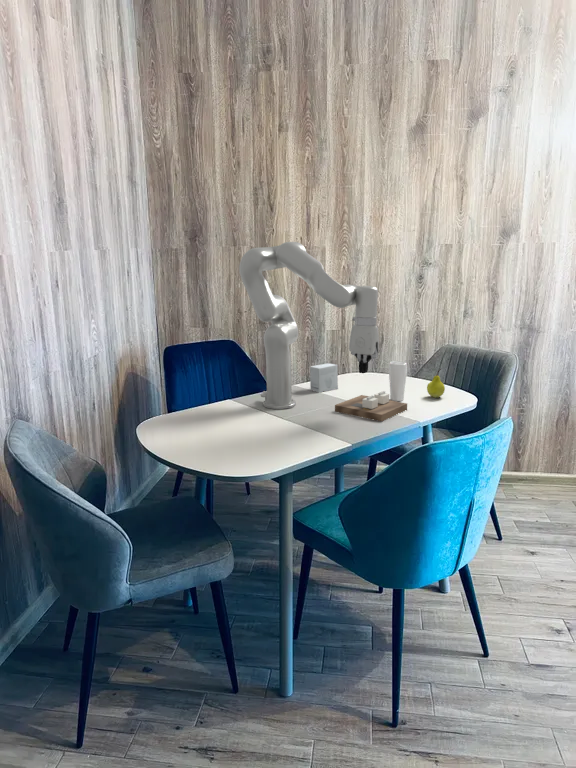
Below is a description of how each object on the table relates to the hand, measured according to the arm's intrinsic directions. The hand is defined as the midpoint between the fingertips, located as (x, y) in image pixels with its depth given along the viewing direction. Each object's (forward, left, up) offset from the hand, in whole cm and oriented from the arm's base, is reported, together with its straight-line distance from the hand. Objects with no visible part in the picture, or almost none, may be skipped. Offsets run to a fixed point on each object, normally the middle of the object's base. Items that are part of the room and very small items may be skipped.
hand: (363, 372), depth 204 cm
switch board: (+1, +4, -15) cm, 16 cm away
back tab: (+3, +8, -12) cm, 15 cm away
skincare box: (-32, +19, -16) cm, 40 cm away
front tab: (+3, 0, -12) cm, 13 cm away
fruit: (+11, +36, -15) cm, 41 cm away
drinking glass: (+1, +23, -15) cm, 28 cm away
